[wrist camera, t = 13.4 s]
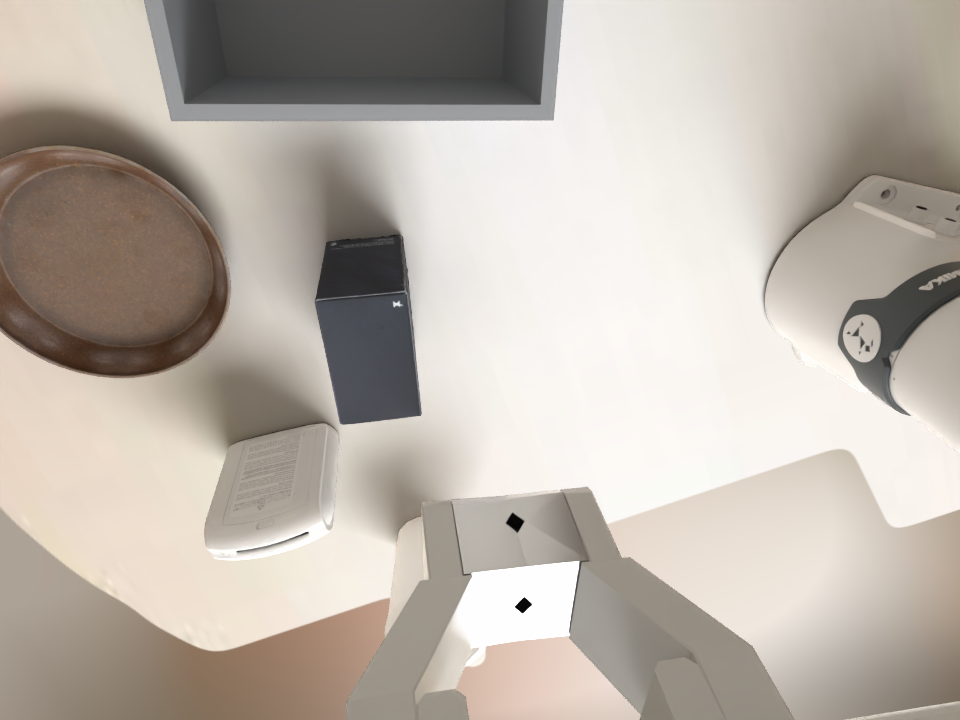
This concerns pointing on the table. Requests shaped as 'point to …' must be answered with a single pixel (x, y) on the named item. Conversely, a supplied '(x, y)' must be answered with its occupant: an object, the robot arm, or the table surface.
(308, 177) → the table surface
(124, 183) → the plant saucer
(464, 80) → the carton
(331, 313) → the small box
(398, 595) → the foam cup
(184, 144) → the table surface
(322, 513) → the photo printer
